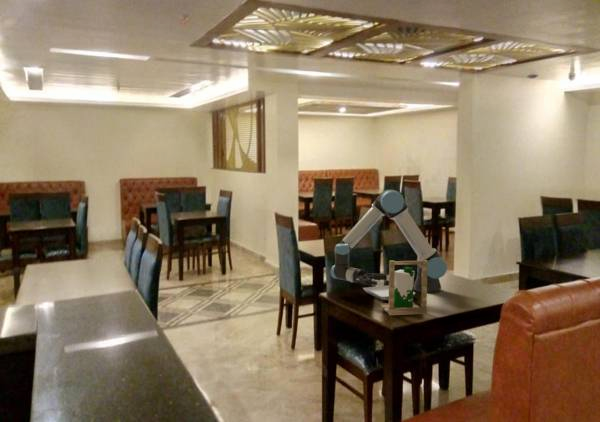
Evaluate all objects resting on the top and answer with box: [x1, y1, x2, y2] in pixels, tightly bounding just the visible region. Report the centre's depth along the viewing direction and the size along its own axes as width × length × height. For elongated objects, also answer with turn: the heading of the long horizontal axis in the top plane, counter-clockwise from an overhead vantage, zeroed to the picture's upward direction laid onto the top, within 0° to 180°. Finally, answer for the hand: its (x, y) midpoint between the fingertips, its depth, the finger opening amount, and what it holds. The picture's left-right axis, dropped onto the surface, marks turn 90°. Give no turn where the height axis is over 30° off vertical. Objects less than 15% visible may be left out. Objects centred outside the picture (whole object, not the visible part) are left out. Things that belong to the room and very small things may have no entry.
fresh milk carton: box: [394, 266, 415, 308], centre depth 236 cm, size 9×9×20 cm
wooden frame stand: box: [379, 259, 428, 316], centre depth 235 cm, size 18×18×26 cm
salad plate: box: [362, 285, 416, 301], centre depth 261 cm, size 21×21×3 cm
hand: (390, 281), depth 241 cm, fingers open, 13 cm apart
